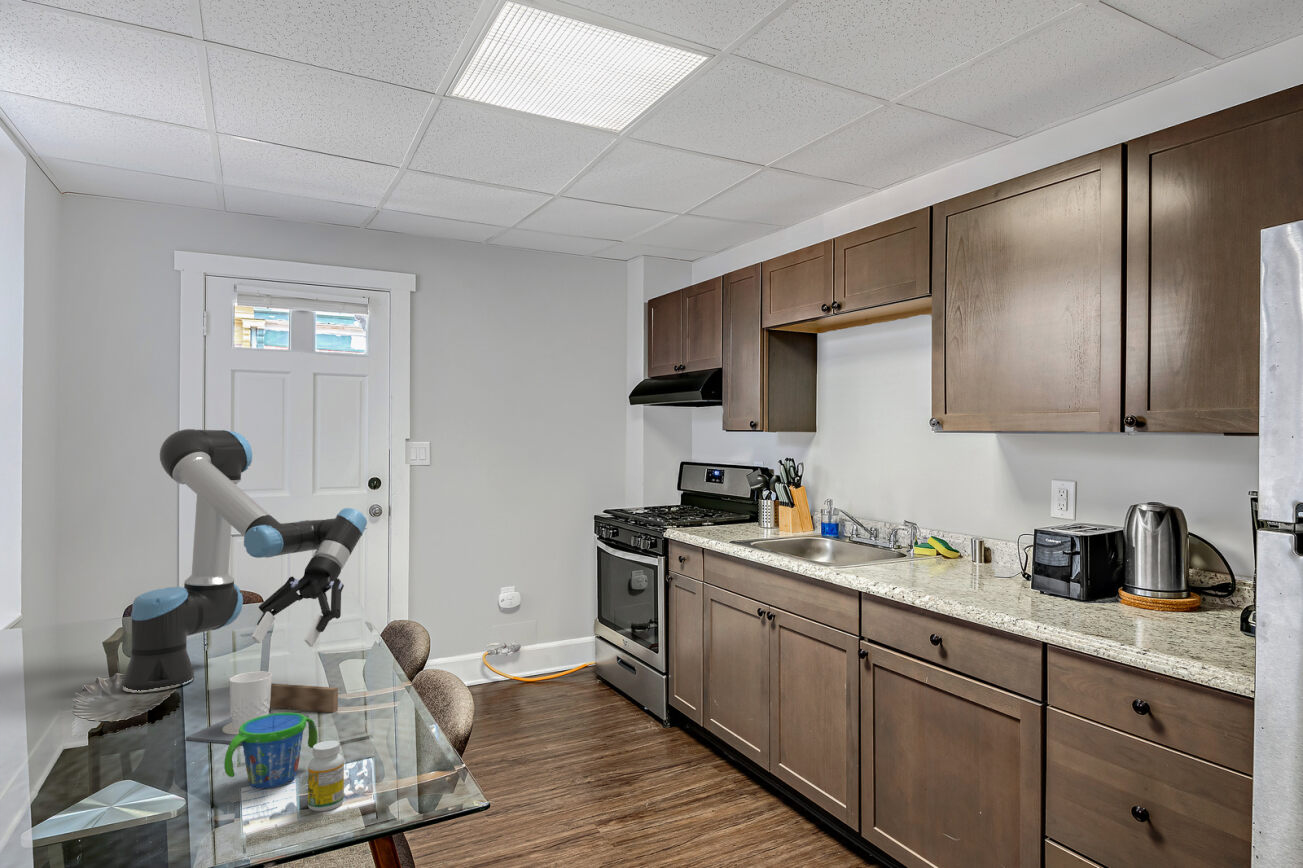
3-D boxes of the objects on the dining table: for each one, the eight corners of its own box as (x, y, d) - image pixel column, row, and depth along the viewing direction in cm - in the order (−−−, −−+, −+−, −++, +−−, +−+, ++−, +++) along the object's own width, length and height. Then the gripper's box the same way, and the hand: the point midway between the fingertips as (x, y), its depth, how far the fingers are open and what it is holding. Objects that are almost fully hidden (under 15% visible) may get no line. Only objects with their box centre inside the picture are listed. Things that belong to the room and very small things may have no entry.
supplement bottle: (344, 808, 119) (344, 748, 119) (307, 815, 117) (307, 753, 117) (343, 794, 124) (343, 736, 124) (308, 801, 122) (308, 741, 122)
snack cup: (237, 806, 120) (237, 742, 120) (212, 788, 127) (213, 728, 127) (330, 774, 132) (331, 716, 132) (303, 759, 139) (304, 704, 139)
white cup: (253, 732, 150) (253, 683, 151) (219, 730, 152) (220, 681, 152) (279, 719, 158) (280, 672, 158) (247, 717, 160) (248, 670, 160)
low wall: (248, 706, 169) (249, 684, 169) (253, 704, 171) (253, 682, 171) (333, 712, 164) (333, 689, 165) (337, 710, 166) (337, 687, 166)
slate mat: (186, 740, 149) (186, 736, 149) (246, 713, 164) (246, 709, 164) (254, 746, 145) (254, 742, 145) (308, 718, 161) (308, 714, 161)
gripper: (378, 575, 179) (338, 653, 164) (290, 571, 184) (243, 647, 169) (365, 556, 174) (322, 635, 159) (275, 552, 179) (225, 629, 164)
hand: (281, 641), depth 164 cm, fingers open, 13 cm apart
